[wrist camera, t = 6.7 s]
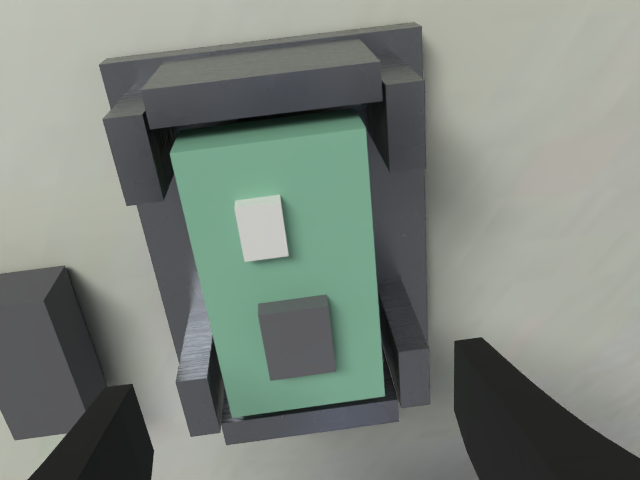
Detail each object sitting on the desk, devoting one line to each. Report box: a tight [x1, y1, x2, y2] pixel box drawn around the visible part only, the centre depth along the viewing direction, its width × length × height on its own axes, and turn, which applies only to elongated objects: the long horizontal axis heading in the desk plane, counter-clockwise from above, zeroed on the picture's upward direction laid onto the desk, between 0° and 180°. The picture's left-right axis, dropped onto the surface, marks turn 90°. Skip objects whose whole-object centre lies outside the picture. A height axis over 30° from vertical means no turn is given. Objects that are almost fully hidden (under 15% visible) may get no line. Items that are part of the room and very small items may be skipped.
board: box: [170, 108, 385, 418], centre depth 18 cm, size 5×9×3 cm, turn 6°
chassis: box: [99, 22, 430, 445], centre depth 20 cm, size 10×12×5 cm
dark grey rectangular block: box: [0, 266, 107, 440], centre depth 22 cm, size 6×3×2 cm, turn 6°
